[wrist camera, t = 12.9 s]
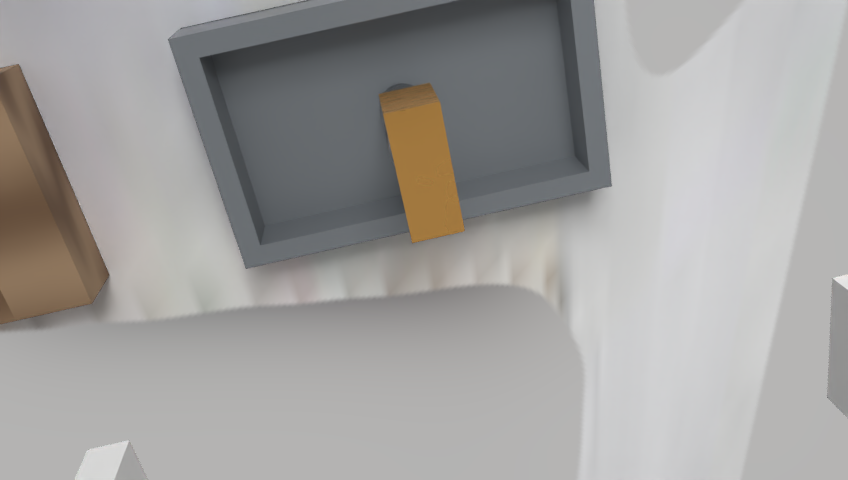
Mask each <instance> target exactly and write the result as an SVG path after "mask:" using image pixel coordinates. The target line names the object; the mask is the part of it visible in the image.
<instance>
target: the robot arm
mask: <svg viewBox="0 0 848 480" xmlns="http://www.w3.org/2000/svg"><path fill="white" fill-rule="evenodd" d="M829 345H830V346H829V368H828V391H827V392H828V393H827V398H828V399H829V400H830V401H831V402H832V403H833V404H834V405H835V406H836V407H837V408H838V409H839V410H840V411H841V412H842V413H843V414H844V415H845V416H846V417H847V418H848V274H847V275H843V276H839V277H834V278H832V297H831V322H830V344H829ZM74 480H148V479H147V476H146V474H145V472H144V470H143V468H142V466H141V464H140V462H139V460H138V458H137V455H136V453H135V451H134V449H133V447H132V445H131V443H130V441H129V440H127V441H123V442H119V443H115V444H110V445H106V446H101V447H97V448H93V449H88V450H87V452H86V455H85V457H84V459H83V461H82V464H81V466H80V468H79V470H78V472H77V475H76V477H75V479H74Z"/></svg>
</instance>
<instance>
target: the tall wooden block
mask: <svg viewBox="0 0 848 480" xmlns="http://www.w3.org/2000/svg"><path fill="white" fill-rule="evenodd" d="M379 99H380V104H379V108H380V114H381V118H382V123H383V127H384V132H385V136H386V141H387V145H388V150H389V154H390V158H391V161H392V163H393V164H394V166H395V169H396V174H397V178H398V182H399V187H400V191H401V196H402V200H403V204H404V209H405V213H406V218H407V222H408V226H409V231H410V235H411V239H412V243H415V242H419V241H424V240H428V239H432V238H437V237H441V236H446V235H450V234H454V233H459V232H463V231H465V229H464V224H463V219H462V214H461V208H460V203H459V198H458V193H457V188H456V182H455V177H454V172H453V167H452V162H451V156H450V151H449V146H448V141H447V136H446V130H445V125H444V120H443V115H442V110H441V104H440V101H439V99H438V97H437V95H436V93H435V91H434V89H433V88H432V86H431V84H430V83H425V84H421V85H417V86H413V85H410V84H407V83H399V84H395V85H393V86H391V87H389V88H388V89H387V90H386V91H385V92H384V93H381V94H379Z"/></svg>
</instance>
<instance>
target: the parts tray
mask: <svg viewBox="0 0 848 480" xmlns="http://www.w3.org/2000/svg"><path fill="white" fill-rule="evenodd" d="M168 41H169V44H170V47H171V50H172V52H173V55H174V58H175V61H176V64H177V67H178V70H179V73H180V76H181V79H182V82H183V85H184V88H185V91H186V94H187V97H188V100H189V103H190V106H191V108H192V111H193V114H194V117H195V120H196V123H197V126H198V129H199V132H200V135H201V138H202V141H203V144H204V147H205V150H206V153H207V156H208V159H209V161H210V164H211V167H212V170H213V173H214V176H215V179H216V182H217V185H218V188H219V191H220V194H221V197H222V200H223V203H224V206H225V209H226V212H227V214H228V217H229V220H230V223H231V226H232V229H233V232H234V235H235V238H236V241H237V244H238V247H239V250H240V253H241V256H242V259H243V262H244V265H245V268H246V269H247V268H251V267H256V266H260V265H265V264H269V263H274V262H278V261H282V260H287V259H291V258H296V257H300V256H305V255H309V254H313V253H318V252H322V251H327V250H331V249H336V248H340V247H344V246H349V245H353V244H358V243H362V242H366V241H371V240H375V239H380V238H384V237H389V236H393V235H397V234H402V233H406V232H410V231H409V226H408V222H407V218H406V213H405V209H404V204H403V200H402V196H401V191H400V187H399V182H398V178H397V174H396V169H395V166H394V164H393V163H392V161H391V158H390V154H389V150H388V145H387V141H386V136H385V132H384V127H383V123H382V118H381V114H380V108H379V104H380V99H379V94H381V93H384V92H385V91H386V90H387V89H388V88H389V87H391V86H393V85H395V84H399V83H407V84H410V85H413V86H417V85H421V84H425V83H430V84H431V86H432V88H433V89H434V91H435V93H436V95H437V97H438V99H439V101H440V104H441V110H442V115H443V120H444V125H445V130H446V136H447V141H448V146H449V151H450V156H451V162H452V167H453V172H454V177H455V182H456V188H457V193H458V198H459V203H460V208H461V214H462V219H463V220H464V219H468V218H473V217H477V216H482V215H486V214H490V213H495V212H499V211H504V210H508V209H512V208H517V207H521V206H526V205H530V204H535V203H539V202H543V201H548V200H552V199H557V198H561V197H566V196H570V195H574V194H579V193H583V192H588V191H592V190H597V189H601V188H605V187H610V186H612V184H611V173H610V163H609V153H608V142H607V132H606V122H605V111H604V101H603V91H602V81H601V70H600V60H599V50H598V39H597V29H596V19H595V8H594V0H306V1H301V2H297V3H292V4H288V5H283V6H279V7H274V8H270V9H265V10H261V11H256V12H252V13H247V14H243V15H238V16H234V17H229V18H225V19H220V20H216V21H211V22H207V23H202V24H198V25H193V26H189V27H184V28H181V29H180V30H179V31H177V32H176V33H175V34H174V35H173V36H171V37H170V38H169V39H168Z"/></svg>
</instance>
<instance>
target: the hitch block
mask: <svg viewBox="0 0 848 480" xmlns="http://www.w3.org/2000/svg"><path fill="white" fill-rule="evenodd" d="M108 276H109V273H108V271H107V268H106V266H105V264H104V261H103V259H102V257H101V255H100V252H99V250H98V248H97V245H96V243H95V241H94V238H93V236H92V234H91V231H90V229H89V227H88V224H87V222H86V220H85V217H84V215H83V213H82V210H81V208H80V206H79V203H78V201H77V199H76V196H75V194H74V192H73V189H72V187H71V185H70V182H69V180H68V178H67V175H66V173H65V171H64V168H63V166H62V164H61V161H60V159H59V157H58V154H57V152H56V150H55V148H54V145H53V143H52V141H51V138H50V136H49V134H48V131H47V129H46V127H45V124H44V122H43V120H42V117H41V115H40V113H39V110H38V108H37V106H36V103H35V101H34V99H33V96H32V94H31V92H30V89H29V87H28V85H27V82H26V80H25V78H24V75H23V73H22V71H21V68H20V66H19V64H17V65H13V66H8V67H4V68H0V324H4V323H8V322H13V321H17V320H21V319H26V318H30V317H35V316H39V315H44V314H48V313H52V312H57V311H61V310H66V309H70V308H75V307H79V306H83V305H88V304H92V303H93V301H94V300H95V298H96V296H97V295H98V293H99V291H100V290H101V288H102V286H103V285H104V283H105V281H106V280H107V278H108Z"/></svg>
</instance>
